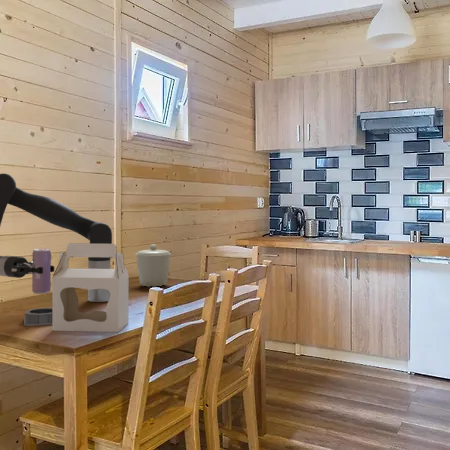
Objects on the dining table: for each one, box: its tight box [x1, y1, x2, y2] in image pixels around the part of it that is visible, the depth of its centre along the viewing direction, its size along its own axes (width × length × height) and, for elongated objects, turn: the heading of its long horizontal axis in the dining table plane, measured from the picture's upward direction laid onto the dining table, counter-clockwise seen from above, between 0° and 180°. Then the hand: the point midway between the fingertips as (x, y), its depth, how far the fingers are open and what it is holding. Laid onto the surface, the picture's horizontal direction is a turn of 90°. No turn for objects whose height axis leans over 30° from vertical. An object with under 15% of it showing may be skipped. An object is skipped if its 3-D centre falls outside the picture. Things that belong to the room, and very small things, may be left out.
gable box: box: [51, 242, 129, 333], centre depth 175 cm, size 22×13×28 cm, turn 87°
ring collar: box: [23, 307, 52, 327], centre depth 183 cm, size 12×12×4 cm
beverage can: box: [31, 248, 52, 295], centre depth 182 cm, size 6×6×15 cm
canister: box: [134, 243, 172, 288], centre depth 264 cm, size 18×18×21 cm
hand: (48, 269), depth 181 cm, fingers closed on beverage can, 5 cm apart
